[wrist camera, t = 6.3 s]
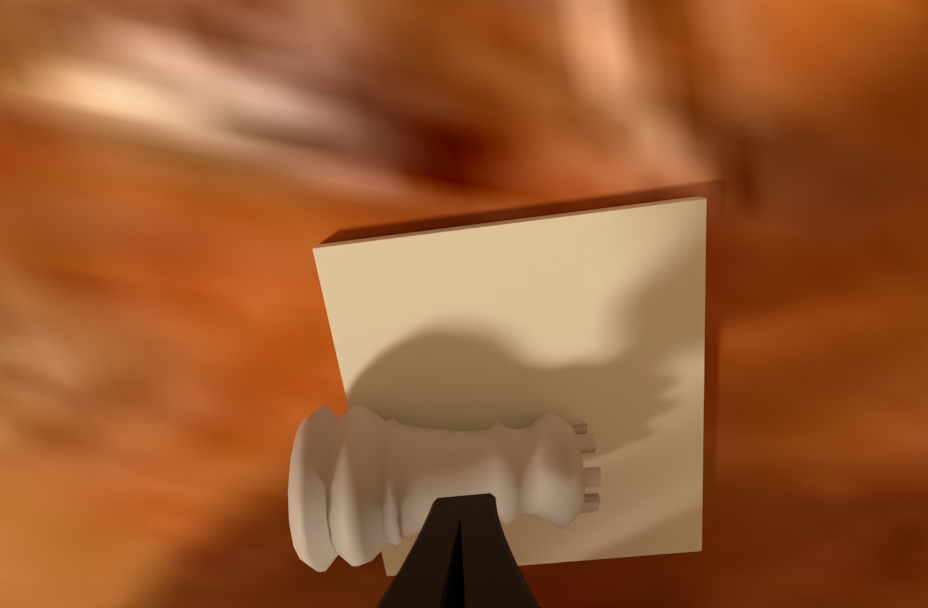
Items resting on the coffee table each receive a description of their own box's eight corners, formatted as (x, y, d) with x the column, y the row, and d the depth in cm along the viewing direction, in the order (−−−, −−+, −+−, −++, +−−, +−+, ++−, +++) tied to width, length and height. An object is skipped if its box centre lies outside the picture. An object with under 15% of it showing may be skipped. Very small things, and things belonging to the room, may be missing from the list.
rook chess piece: (281, 595, 12) (624, 568, 12) (285, 398, 13) (598, 378, 13) (326, 555, 16) (579, 536, 16) (326, 410, 17) (562, 394, 18)
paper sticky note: (389, 563, 19) (386, 576, 18) (318, 244, 15) (312, 248, 15) (694, 538, 18) (701, 550, 18) (698, 196, 15) (706, 198, 14)
